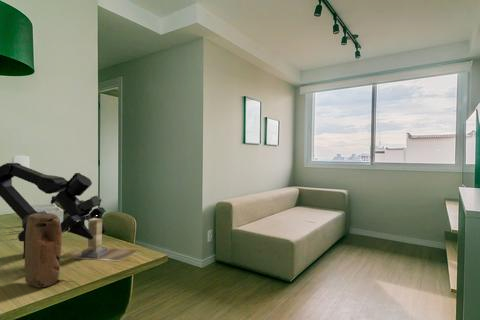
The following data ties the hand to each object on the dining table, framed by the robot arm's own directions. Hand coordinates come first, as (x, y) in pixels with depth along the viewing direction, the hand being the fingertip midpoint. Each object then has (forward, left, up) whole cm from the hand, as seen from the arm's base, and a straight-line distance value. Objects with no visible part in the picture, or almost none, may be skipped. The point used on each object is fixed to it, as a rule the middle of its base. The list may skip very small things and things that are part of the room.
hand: (98, 235), depth 100 cm
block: (-15, -13, -9) cm, 22 cm away
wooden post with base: (-1, +1, -7) cm, 7 cm away
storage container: (-20, +56, -9) cm, 60 cm away
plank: (+2, 0, -9) cm, 9 cm away
